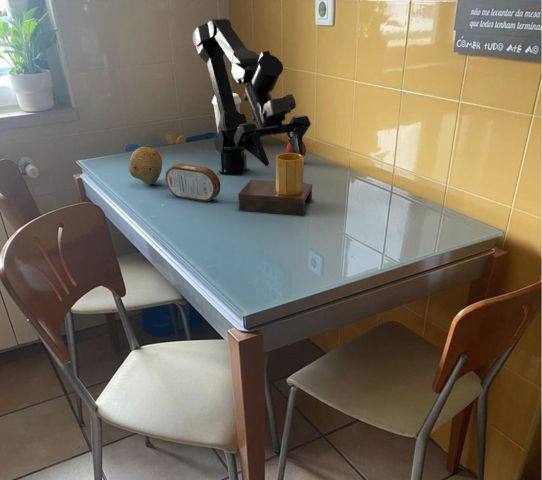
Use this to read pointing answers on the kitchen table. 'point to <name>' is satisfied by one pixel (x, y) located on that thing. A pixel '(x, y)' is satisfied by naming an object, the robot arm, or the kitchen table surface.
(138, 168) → the potato
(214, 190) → the tin
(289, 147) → the onion
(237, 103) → the coffee cup
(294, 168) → the cup
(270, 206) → the brown wooden board
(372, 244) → the kitchen table surface
